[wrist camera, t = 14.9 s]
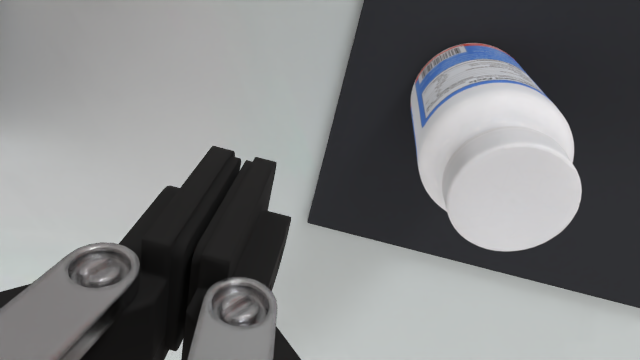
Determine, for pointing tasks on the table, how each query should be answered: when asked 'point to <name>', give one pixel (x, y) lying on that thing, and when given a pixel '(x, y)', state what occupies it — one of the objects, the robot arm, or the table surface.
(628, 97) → the desk mat
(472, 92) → the pill bottle
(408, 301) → the table surface
